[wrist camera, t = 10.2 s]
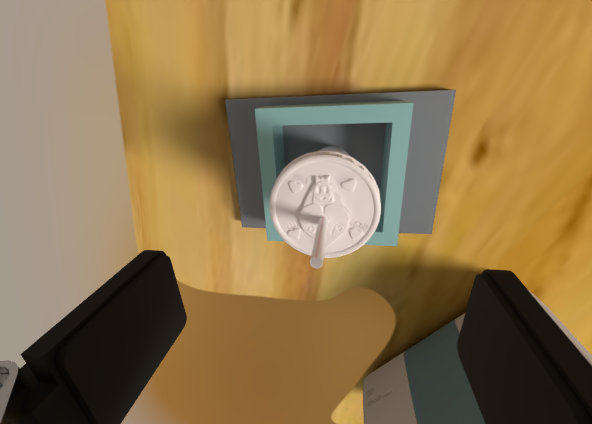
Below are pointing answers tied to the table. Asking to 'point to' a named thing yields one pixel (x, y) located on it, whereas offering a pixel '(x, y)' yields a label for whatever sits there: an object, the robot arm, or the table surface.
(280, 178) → the smoothie
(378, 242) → the socket holder
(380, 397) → the stereo radio cassette player
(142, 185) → the table surface
